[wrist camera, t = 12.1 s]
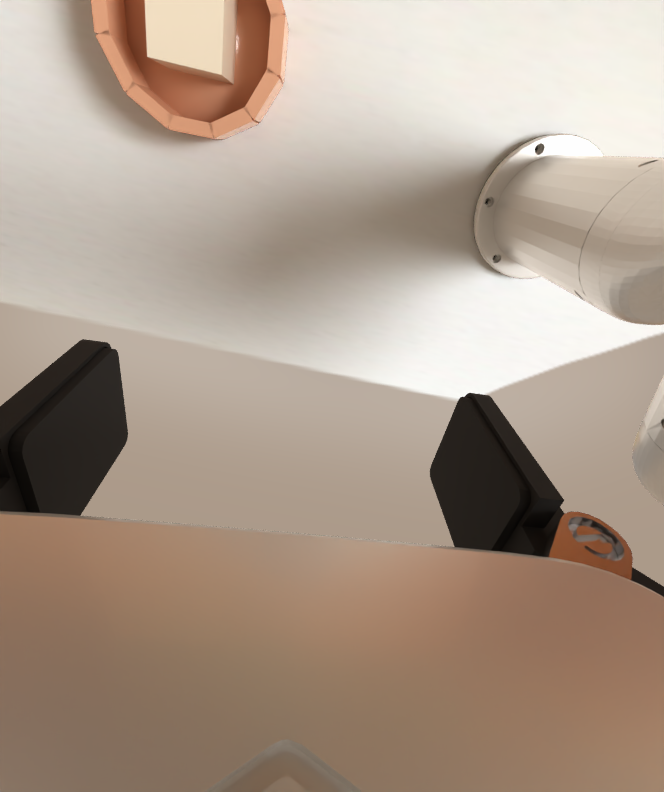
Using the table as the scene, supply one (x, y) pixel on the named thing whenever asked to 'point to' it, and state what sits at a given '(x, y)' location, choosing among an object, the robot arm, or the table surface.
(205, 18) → the cream beige cube
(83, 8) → the table surface
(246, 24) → the bowl
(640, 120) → the table surface
